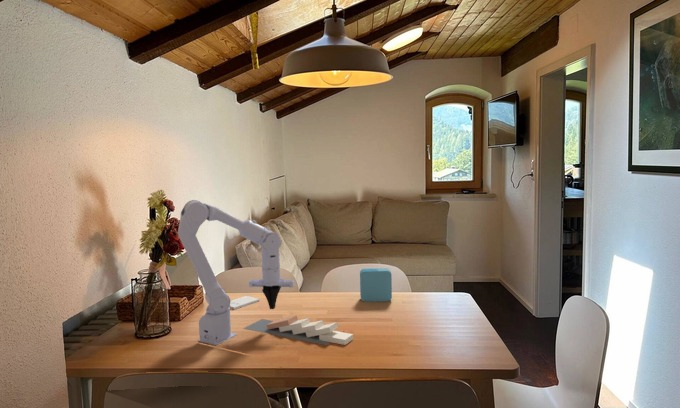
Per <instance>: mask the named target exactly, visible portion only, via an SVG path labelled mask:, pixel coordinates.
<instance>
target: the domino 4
mask: <svg viewBox="0 0 680 408" xmlns="http://www.w3.org/2000/svg"><path fill="white" fill-rule="evenodd" d="M339 327H340V326H339V324H338V322H336V321H335V322H332V323H331V322H330V323H327V324H324V326H322V327H320V328H319V329H317V330H315V331H310V332H306V335H307V337H312V336H317V335H321V334H326V333H330V332H332V331H336V330H337V329H338V328H339Z"/></svg>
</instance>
